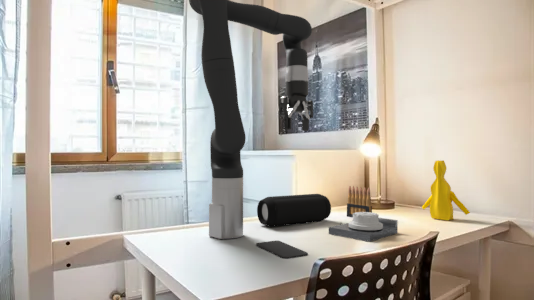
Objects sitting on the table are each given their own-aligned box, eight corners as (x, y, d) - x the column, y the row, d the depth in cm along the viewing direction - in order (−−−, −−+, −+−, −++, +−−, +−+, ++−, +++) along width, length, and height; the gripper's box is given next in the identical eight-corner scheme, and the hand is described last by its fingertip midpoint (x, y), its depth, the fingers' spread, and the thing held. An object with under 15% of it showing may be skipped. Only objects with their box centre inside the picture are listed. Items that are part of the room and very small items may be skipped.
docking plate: (369, 241, 102) (369, 227, 102) (328, 233, 112) (328, 220, 112) (397, 233, 113) (397, 220, 113) (357, 226, 123) (357, 214, 123)
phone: (283, 257, 85) (254, 243, 98) (283, 261, 85) (254, 246, 98) (310, 253, 89) (278, 240, 102) (310, 257, 89) (278, 243, 102)
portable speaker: (316, 218, 139) (316, 192, 139) (332, 223, 131) (332, 194, 131) (255, 224, 127) (255, 195, 127) (269, 230, 118) (269, 198, 119)
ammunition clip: (346, 216, 144) (346, 185, 144) (349, 216, 145) (349, 185, 145) (369, 220, 135) (369, 187, 135) (372, 219, 136) (372, 187, 137)
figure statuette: (472, 221, 133) (472, 160, 133) (463, 224, 128) (462, 160, 128) (424, 215, 147) (424, 159, 147) (414, 217, 142) (414, 160, 142)
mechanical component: (377, 232, 104) (386, 227, 113) (377, 217, 104) (386, 212, 113) (343, 229, 109) (354, 223, 118) (343, 214, 110) (354, 209, 118)
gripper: (302, 85, 130) (302, 131, 130) (273, 80, 120) (273, 129, 120) (319, 82, 124) (319, 130, 124) (290, 76, 114) (290, 128, 114)
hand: (296, 130), depth 122 cm, fingers open, 8 cm apart
